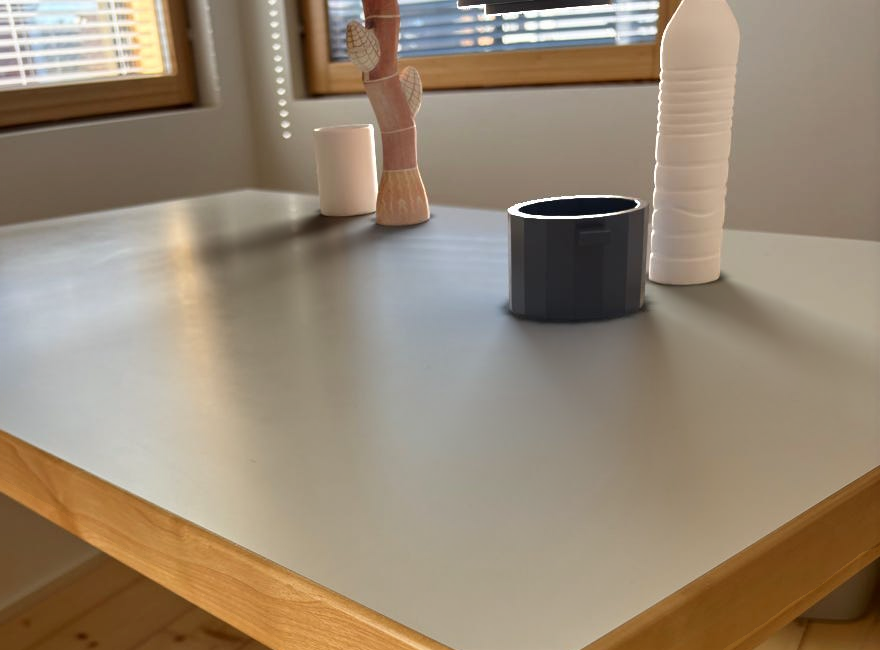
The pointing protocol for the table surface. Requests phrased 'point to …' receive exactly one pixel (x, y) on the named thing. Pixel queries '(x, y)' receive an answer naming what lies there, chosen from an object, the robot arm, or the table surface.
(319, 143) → the mug
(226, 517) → the table surface
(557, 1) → the lid
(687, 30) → the water bottle
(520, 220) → the pot
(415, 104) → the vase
